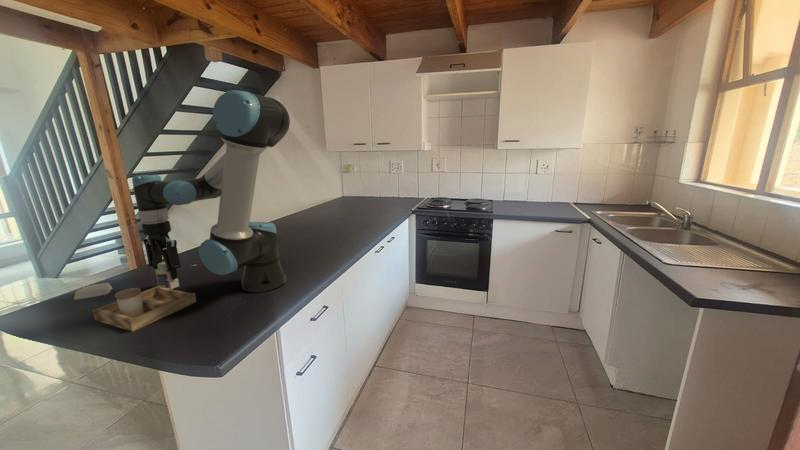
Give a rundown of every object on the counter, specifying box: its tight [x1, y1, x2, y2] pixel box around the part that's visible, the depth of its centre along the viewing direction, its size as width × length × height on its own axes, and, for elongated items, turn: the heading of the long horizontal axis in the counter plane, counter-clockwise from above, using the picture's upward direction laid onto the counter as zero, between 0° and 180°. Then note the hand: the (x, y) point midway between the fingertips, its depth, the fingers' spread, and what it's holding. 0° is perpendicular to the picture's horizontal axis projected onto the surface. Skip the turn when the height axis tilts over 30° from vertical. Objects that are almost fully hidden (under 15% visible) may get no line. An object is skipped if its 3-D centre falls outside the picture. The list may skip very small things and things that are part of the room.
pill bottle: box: [156, 261, 170, 289], centre depth 109 cm, size 5×5×9 cm
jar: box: [114, 287, 145, 318], centre depth 90 cm, size 6×6×8 cm
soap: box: [73, 282, 113, 301], centre depth 108 cm, size 9×7×3 cm
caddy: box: [91, 285, 197, 332], centre depth 95 cm, size 17×18×4 cm
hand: (169, 286), depth 110 cm, fingers closed on pill bottle, 5 cm apart
